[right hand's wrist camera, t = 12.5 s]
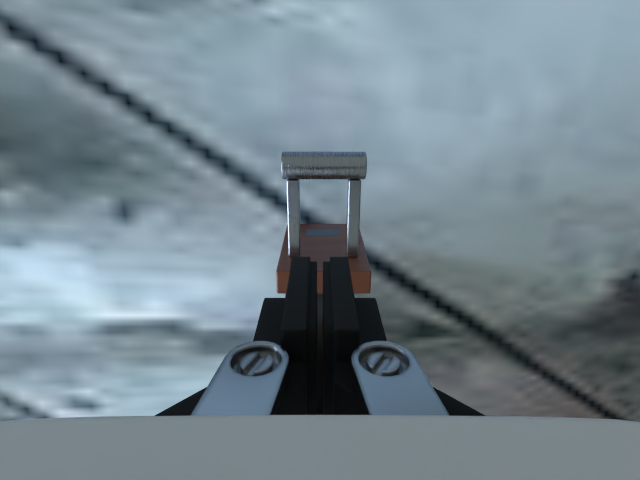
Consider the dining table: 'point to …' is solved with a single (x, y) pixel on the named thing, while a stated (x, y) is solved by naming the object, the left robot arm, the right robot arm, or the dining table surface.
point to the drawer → (324, 229)
